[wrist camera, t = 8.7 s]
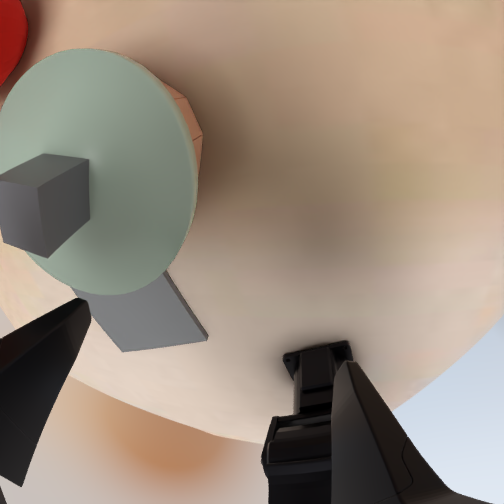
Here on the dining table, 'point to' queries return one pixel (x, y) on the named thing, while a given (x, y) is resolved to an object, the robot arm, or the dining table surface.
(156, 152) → the lid
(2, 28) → the ceramic cup
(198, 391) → the dining table surface
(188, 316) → the mat
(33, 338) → the robot arm
